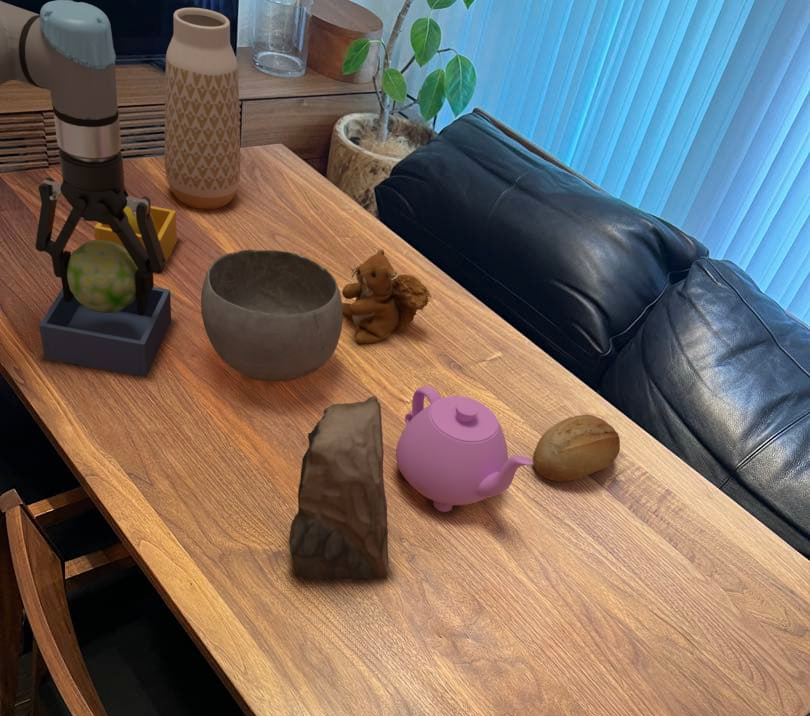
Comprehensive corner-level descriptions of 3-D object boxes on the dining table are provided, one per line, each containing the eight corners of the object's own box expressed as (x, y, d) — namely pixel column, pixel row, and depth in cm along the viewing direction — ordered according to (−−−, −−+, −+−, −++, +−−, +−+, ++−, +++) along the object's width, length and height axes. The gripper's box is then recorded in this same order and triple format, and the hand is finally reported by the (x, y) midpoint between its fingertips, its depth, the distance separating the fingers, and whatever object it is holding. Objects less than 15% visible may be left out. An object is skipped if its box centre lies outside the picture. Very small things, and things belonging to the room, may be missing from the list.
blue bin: (44, 359, 116) (38, 325, 112) (77, 304, 126) (73, 271, 122) (146, 377, 118) (144, 344, 113) (171, 321, 128) (170, 289, 123)
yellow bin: (97, 260, 135) (94, 227, 131) (116, 229, 142) (113, 197, 138) (161, 272, 136) (160, 240, 132) (176, 241, 143) (175, 210, 139)
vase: (150, 190, 153) (140, 6, 131) (207, 174, 161) (206, -2, 139) (198, 222, 149) (196, 37, 126) (254, 203, 157) (261, 27, 134)
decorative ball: (154, 317, 118) (151, 255, 111) (89, 334, 113) (81, 270, 106) (123, 282, 123) (117, 220, 115) (58, 297, 117) (48, 233, 110)
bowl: (362, 372, 128) (376, 289, 117) (268, 426, 116) (274, 339, 104) (270, 311, 134) (276, 227, 123) (173, 355, 122) (169, 266, 111)
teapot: (539, 514, 114) (572, 442, 104) (460, 558, 106) (487, 484, 95) (439, 422, 123) (460, 348, 113) (359, 456, 115) (374, 379, 105)
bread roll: (627, 471, 124) (648, 432, 118) (557, 500, 116) (576, 460, 110) (585, 432, 128) (603, 393, 122) (516, 458, 121) (532, 418, 115)
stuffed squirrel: (331, 310, 138) (341, 238, 128) (408, 308, 142) (423, 239, 133) (347, 345, 132) (358, 273, 122) (426, 342, 137) (443, 272, 127)
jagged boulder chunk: (286, 583, 98) (299, 464, 83) (279, 507, 106) (290, 386, 91) (387, 580, 101) (417, 465, 86) (373, 507, 109) (398, 390, 94)
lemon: (124, 236, 140) (120, 192, 134) (157, 241, 141) (155, 197, 135) (119, 253, 136) (115, 208, 130) (153, 257, 137) (150, 213, 131)
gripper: (187, 155, 104) (190, 304, 121) (10, 118, 102) (37, 275, 119) (172, 180, 99) (178, 332, 116) (-14, 142, 97) (18, 302, 114)
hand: (107, 303), depth 117 cm, fingers closed on decorative ball, 10 cm apart
